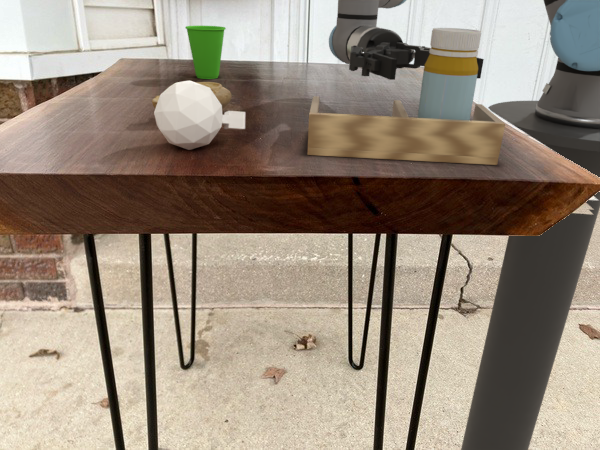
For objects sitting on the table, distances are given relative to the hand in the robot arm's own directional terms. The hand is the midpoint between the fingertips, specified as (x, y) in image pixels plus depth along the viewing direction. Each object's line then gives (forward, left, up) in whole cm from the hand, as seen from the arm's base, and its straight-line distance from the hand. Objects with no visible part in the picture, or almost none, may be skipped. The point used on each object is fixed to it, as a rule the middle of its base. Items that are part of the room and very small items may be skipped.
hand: (437, 69), depth 74 cm
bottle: (-1, +3, -10) cm, 10 cm away
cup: (+44, -48, -11) cm, 66 cm away
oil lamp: (+37, -9, -11) cm, 39 cm away
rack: (+5, +3, -10) cm, 12 cm away
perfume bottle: (+32, +8, -11) cm, 35 cm away
